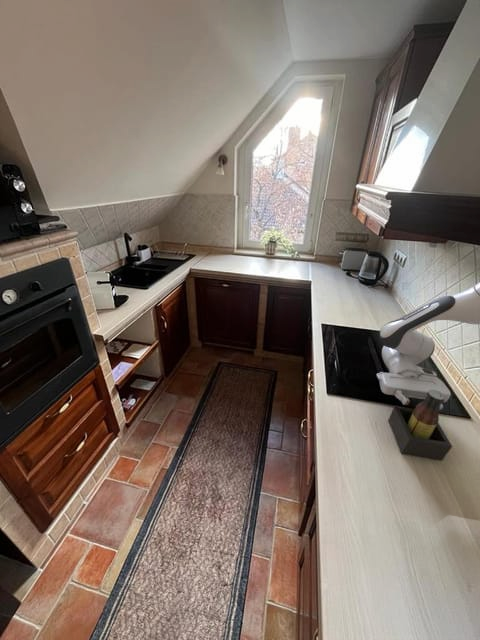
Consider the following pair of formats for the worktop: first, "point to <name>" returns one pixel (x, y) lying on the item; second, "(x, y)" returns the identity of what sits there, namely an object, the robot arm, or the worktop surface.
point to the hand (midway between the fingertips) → (423, 405)
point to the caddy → (415, 446)
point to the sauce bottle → (426, 415)
